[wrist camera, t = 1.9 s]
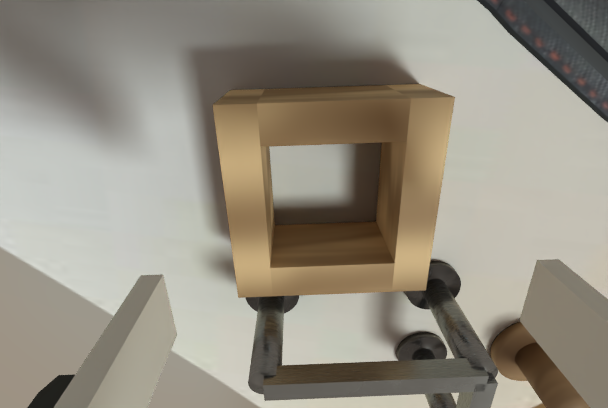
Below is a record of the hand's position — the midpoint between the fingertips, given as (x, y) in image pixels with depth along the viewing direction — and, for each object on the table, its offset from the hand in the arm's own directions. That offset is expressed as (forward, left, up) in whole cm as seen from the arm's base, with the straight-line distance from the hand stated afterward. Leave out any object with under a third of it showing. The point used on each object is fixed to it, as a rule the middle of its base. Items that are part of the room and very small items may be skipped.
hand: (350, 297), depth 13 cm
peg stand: (+16, +17, -11) cm, 26 cm away
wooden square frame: (0, 0, -11) cm, 11 cm away
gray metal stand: (+12, +2, -11) cm, 17 cm away
